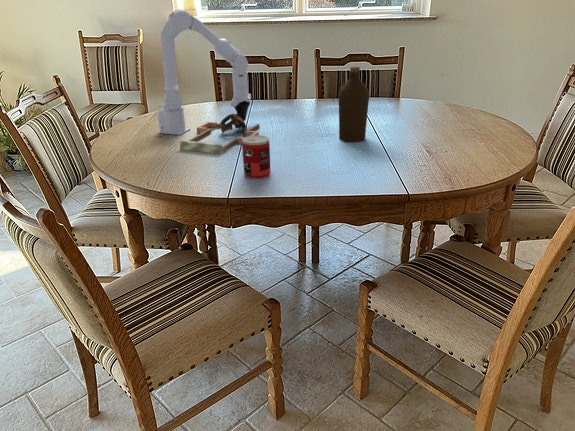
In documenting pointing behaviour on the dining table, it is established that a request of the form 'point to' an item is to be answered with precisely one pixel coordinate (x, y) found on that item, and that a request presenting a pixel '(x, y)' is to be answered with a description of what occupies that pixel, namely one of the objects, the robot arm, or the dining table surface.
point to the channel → (209, 147)
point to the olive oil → (353, 108)
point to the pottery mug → (232, 123)
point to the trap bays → (214, 125)
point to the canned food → (256, 156)
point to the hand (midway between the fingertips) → (242, 120)
